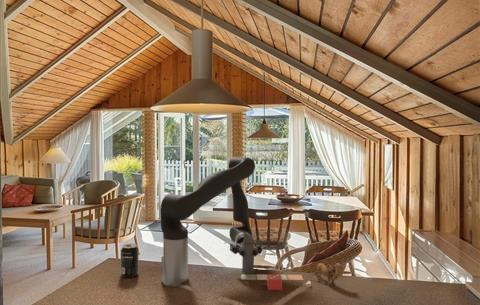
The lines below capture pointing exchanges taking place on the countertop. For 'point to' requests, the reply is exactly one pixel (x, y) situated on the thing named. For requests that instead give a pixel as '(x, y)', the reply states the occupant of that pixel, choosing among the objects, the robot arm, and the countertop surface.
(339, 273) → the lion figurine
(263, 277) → the game board
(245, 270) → the grey cylinder
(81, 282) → the countertop surface
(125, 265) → the beverage can
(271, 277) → the red die
